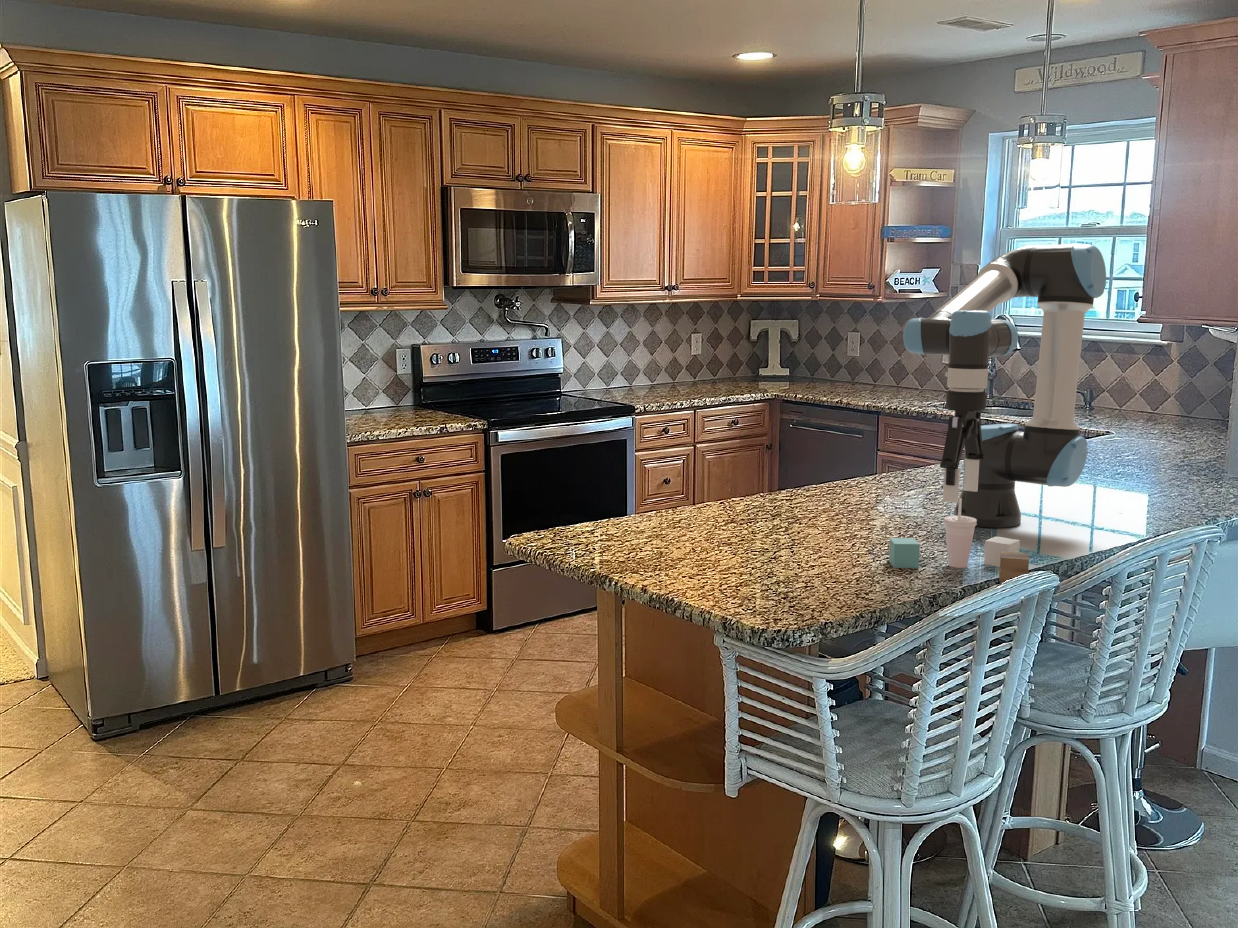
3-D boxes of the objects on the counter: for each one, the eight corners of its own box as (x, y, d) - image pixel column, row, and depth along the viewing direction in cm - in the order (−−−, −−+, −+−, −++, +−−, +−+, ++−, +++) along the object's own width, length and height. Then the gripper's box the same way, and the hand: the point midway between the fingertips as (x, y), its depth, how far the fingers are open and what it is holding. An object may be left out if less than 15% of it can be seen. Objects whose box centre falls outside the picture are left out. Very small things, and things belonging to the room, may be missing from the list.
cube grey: (994, 559, 221) (996, 536, 220) (1018, 564, 218) (1020, 540, 217) (984, 564, 218) (985, 540, 217) (1007, 568, 214) (1009, 544, 213)
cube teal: (888, 561, 220) (889, 537, 219) (913, 561, 220) (914, 538, 219) (893, 568, 215) (894, 543, 214) (918, 568, 215) (919, 544, 214)
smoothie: (936, 566, 216) (939, 498, 214) (948, 559, 221) (951, 493, 219) (967, 571, 212) (971, 502, 210) (979, 564, 217) (983, 496, 215)
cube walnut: (999, 576, 209) (1000, 551, 208) (1026, 578, 207) (1028, 553, 207) (999, 583, 204) (1001, 557, 203) (1027, 585, 203) (1029, 559, 202)
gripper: (965, 384, 223) (960, 484, 226) (927, 393, 202) (922, 503, 206) (1002, 386, 219) (996, 488, 222) (967, 395, 198) (961, 508, 202)
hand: (960, 496), depth 214 cm, fingers open, 13 cm apart
